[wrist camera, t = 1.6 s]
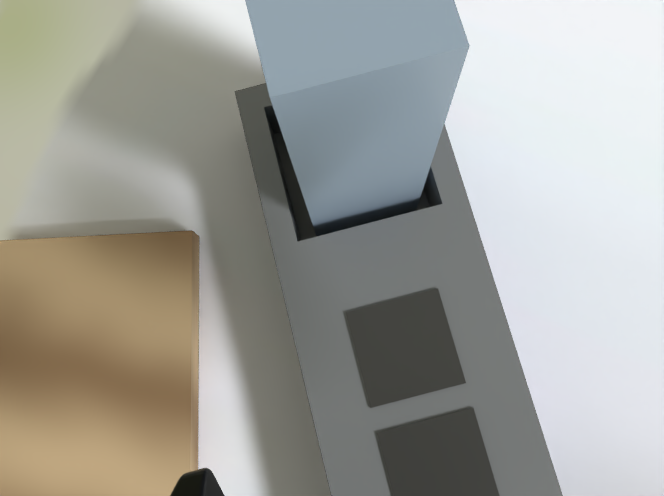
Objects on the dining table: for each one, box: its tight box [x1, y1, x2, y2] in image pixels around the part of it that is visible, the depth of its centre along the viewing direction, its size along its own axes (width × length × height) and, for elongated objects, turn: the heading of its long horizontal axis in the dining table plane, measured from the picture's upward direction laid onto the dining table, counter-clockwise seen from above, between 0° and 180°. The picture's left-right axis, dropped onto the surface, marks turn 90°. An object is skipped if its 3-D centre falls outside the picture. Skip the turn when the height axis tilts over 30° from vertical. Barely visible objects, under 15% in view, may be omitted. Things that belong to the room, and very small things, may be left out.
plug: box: [245, 0, 469, 236], centre depth 18 cm, size 4×4×12 cm
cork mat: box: [0, 231, 199, 496], centre depth 23 cm, size 11×11×1 cm
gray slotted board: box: [235, 83, 563, 496], centre depth 21 cm, size 18×7×4 cm, turn 14°
